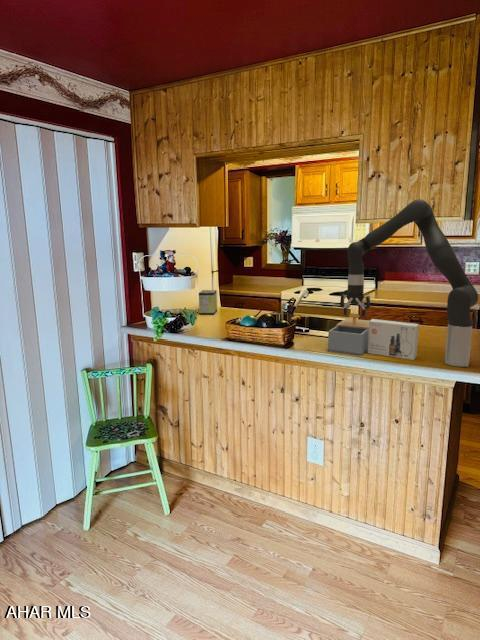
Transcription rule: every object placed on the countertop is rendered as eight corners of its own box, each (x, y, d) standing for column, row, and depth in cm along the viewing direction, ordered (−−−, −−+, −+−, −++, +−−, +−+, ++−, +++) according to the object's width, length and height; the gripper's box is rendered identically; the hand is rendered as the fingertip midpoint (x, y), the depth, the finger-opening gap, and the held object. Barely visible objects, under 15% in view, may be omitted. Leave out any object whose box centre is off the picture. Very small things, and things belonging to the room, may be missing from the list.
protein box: (217, 310, 311) (216, 289, 308) (213, 315, 296) (213, 292, 293) (203, 310, 312) (202, 289, 309) (199, 315, 297) (198, 293, 294)
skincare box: (366, 353, 201) (368, 320, 198) (370, 350, 205) (372, 318, 202) (414, 360, 189) (416, 325, 186) (416, 357, 194) (419, 323, 190)
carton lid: (376, 322, 219) (377, 310, 218) (368, 329, 205) (369, 316, 204) (346, 319, 227) (346, 308, 226) (336, 325, 213) (336, 313, 212)
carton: (370, 347, 211) (371, 327, 209) (361, 355, 198) (362, 334, 196) (338, 343, 219) (339, 324, 217) (327, 351, 206) (328, 331, 204)
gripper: (372, 283, 207) (371, 316, 211) (343, 282, 214) (342, 313, 218) (368, 285, 201) (367, 318, 204) (339, 283, 208) (338, 316, 211)
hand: (354, 316), depth 211 cm, fingers open, 8 cm apart
